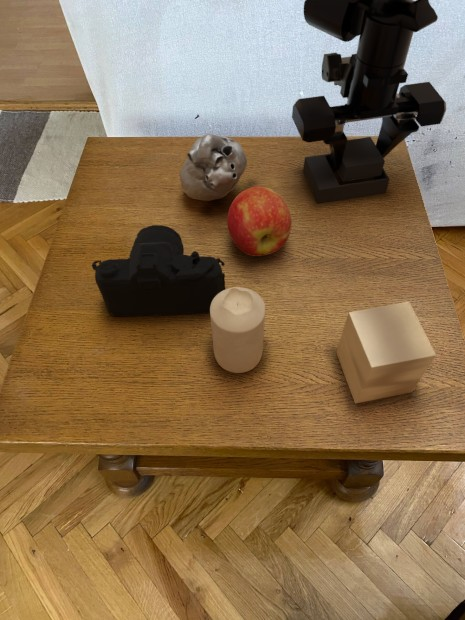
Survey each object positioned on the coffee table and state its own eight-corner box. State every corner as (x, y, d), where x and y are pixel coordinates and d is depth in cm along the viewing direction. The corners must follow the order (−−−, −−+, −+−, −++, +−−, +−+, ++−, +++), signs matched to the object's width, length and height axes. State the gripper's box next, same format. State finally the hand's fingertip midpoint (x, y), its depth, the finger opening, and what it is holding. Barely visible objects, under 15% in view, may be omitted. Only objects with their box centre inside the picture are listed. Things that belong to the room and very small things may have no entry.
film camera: (225, 256, 63) (223, 204, 56) (226, 318, 58) (223, 269, 50) (109, 259, 63) (92, 208, 56) (99, 320, 58) (78, 273, 51)
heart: (265, 185, 71) (254, 107, 61) (238, 227, 66) (221, 149, 57) (205, 176, 75) (186, 102, 66) (175, 216, 70) (150, 141, 61)
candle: (220, 379, 53) (217, 329, 45) (208, 337, 56) (203, 284, 48) (268, 366, 54) (273, 316, 46) (254, 326, 57) (256, 272, 49)
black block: (367, 151, 71) (370, 136, 69) (381, 175, 68) (385, 161, 66) (330, 156, 71) (332, 142, 69) (342, 181, 68) (345, 167, 66)
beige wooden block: (389, 342, 56) (409, 301, 49) (412, 392, 52) (436, 355, 45) (335, 352, 55) (348, 312, 48) (355, 403, 51) (371, 367, 45)
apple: (236, 271, 62) (235, 226, 55) (221, 225, 67) (219, 179, 60) (295, 259, 63) (302, 214, 56) (277, 215, 68) (281, 168, 61)
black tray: (367, 161, 74) (371, 147, 72) (385, 192, 70) (389, 179, 68) (302, 171, 73) (304, 157, 71) (317, 203, 69) (319, 189, 67)
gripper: (427, 15, 62) (395, 123, 75) (285, 31, 60) (278, 140, 73) (468, 59, 56) (426, 169, 68) (311, 79, 54) (298, 189, 67)
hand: (355, 165), depth 69 cm, fingers closed on black block, 5 cm apart
